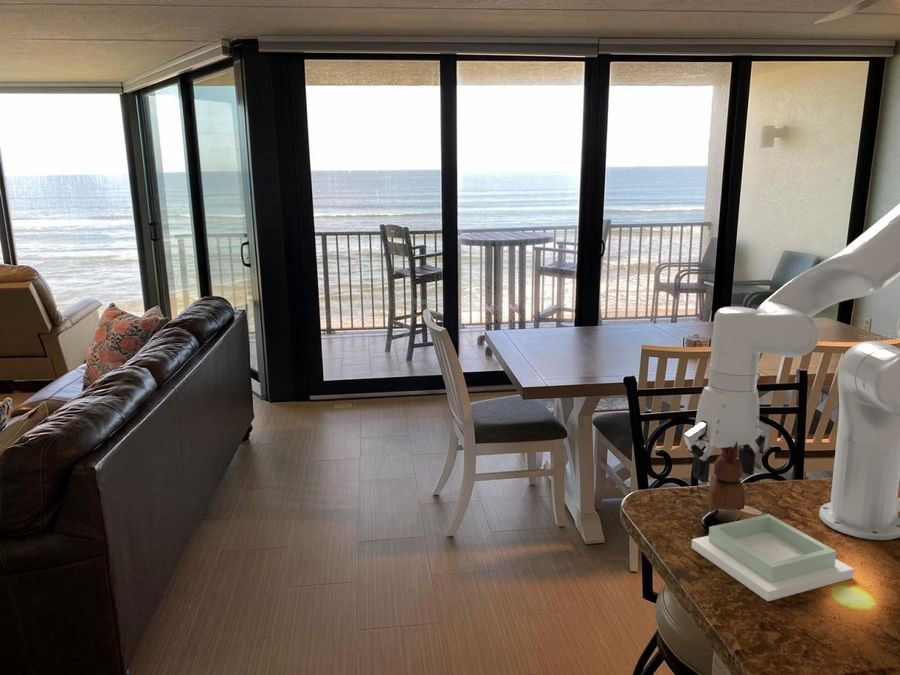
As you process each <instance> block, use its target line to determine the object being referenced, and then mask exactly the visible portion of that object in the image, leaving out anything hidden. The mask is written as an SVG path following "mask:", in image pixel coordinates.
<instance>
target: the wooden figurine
mask: <svg viewBox="0 0 900 675" xmlns="http://www.w3.org/2000/svg"><path fill="white" fill-rule="evenodd" d="M742 471H743V469H742V464H741V462H740V461H739V460H738V446H737V442H736V445H735V446H734V447H728V448H722V450H721V455H720V457H718V458H716V460H715V461H714V463H713V475H714V477H713V478H712V479H711V481H710V483H709V486H708V490H707V491H708V492H707V493H708V494H707V498H708V499H707V500H708V507H709V512H710V513H711V512H712V511H714V510H718V509H726V510H730V509H731V510H735V509H737V510H741V509H745V503H746V491H745V486H744V484H743V483H742V481H741V479H742V477H743V472H742Z"/></svg>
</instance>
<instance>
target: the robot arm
mask: <svg viewBox="0 0 900 675" xmlns="http://www.w3.org/2000/svg"><path fill="white" fill-rule="evenodd" d="M898 277H900V203H898V204H897V205H896V206H895V207H893V208H892V209H891V210H890V211H889V212H887V213H886V214H884V216H882V217H881V218H880V219H879V220H877V221H876V222H875V223H874V224H873V225H871V226H870V227H869V228H867V230H865V231H864V232H862V233H861V234H860V235H859V236H858V237H856V238H855V239H854V240H853V241H851V243H849V244H848V245H847V246H845V247H844V248H843V249H841V251H839V252H837V253H836V254H835V255H833V256H831V257H828V258H827V259H824V260H823V261H821V262H819V263H818V264H816V265H815V266H813V267H811V268H809V269H807V270H805V271H804V272H802V273H800V274H799V275H796V276H795V277H794V278H792V279H791V280H789V281H788V282H787V283H785V284H784V285H782V287H780V288H779V289H778V290H776V291H775V292H774V293H773V294H772V295H770V296H769V297H768V298H767V299H765V300H764V301H763V302H762V303H761V304H760V305H759V306H758V307H757V308H756V309H755V308H752V307H745V306H724V307H721V308H719V309H717V311H716V312H715V314H714V317H713V328H712V339H711V350H710V351H711V352H710V361H709V372H708V384H707V386H704V387H703V389H702V392H701V395H700V398H699V401H698V405H697V411H696V417H695V423H694V427H692V428H691V429H689V430H688V431H687V432H685V433H684V434H683V436H682V437H683V440H684V442H685V444H686V449H687V450H688V451H689V452H690V454H691V455H692V456H693V466H692V477H693V478H695V479H697V480H698V481H700V482H702V483H708V482H709V476H710V465H711V462H710V460H709V457H710V455H711V454H712V453H713V451H714V450H716V449H723V448H728V447H732V448H734V446H735V445H736V442H737V447H739V449H738V457H737V459H738V460H739V461H740V462H741V464H742V469H743V471H742V473H744V474H746V475H749V476H753V475H754V473H755V464H756V455H757V454H758V453H759V452H760V447H761V446H762V444H763V443H764V442H765V441H766V437H767V435H768V433H769V430H770V429H771V428H770V425H769V424H766V423H764V422H763V421H761V420H760V398H759V390H758V388H757V384H758V380H759V379H760V377H761V375H760V373H759V365H760V357H761V354H767V355H772V356H773V355H774V356H778V357H784V358H799V357H803V356H806V355H807V354H809V353H811V352H812V351H813V350H814V349H815V348H816V347H817V345H818V344H819V341H820V330H819V326H818V324H817V323H816V321H815V320H814V319H813V318H812V317H814V316H815V315H816V314H818V313H820V312H822V311H823V310H826V309H827V308H829V307H831V306H833V305H835V304H838V303H841V302H844V301H848V300H852V299H853V300H854V299H858V298H862V297H868V296H869V295H873V294H875V293H878V292H881V291H882V290H884V289H885V288H886V287H887V286H889V284H890V283H892V282H893V281H895V280H896V279H897V278H898ZM895 329H896V334H897V336H898V338H899V339H900V316H899V317H898V319H897V321H896V326H895ZM837 384H838V397H839V399H838V400H839V404H838V405H839V408H838V410H839V411H838V422H837V423H838V424H837V432H836V443H835V455H834V462H833V471H832V472H833V474H832V475H833V476H832V483H831V492H830V502H827V503H824V504H823V505H821V506H820V508H819V512H818V513H819V514H818V515H819V518H820V520H821V521H822V522H823V523H824V524H825V525H826V526H828V527H829V528H831V529H833V530H834V531H837V532H839V533H842V534H844V535H845V534H846V535H848V536H850V537H851V536H852V537H855V538H860V539H864V540H872V541H874V540H875V541H890V540H895V539H898V538H900V517H899V512H900V497H898V496H899V486H900V347H897V346H894V345H892V344H889V343H886V342H883V341H875V340H873V341H872V340H868V341H862V342H858V343H856V344H854V345H853V346H851V347H850V348H848V350H846V351H845V353H844V354H843V355H842V357H841V360H839V365H838V370H837ZM704 447H705V448H704ZM703 448H704V449H703ZM702 449H703V450H702Z"/></svg>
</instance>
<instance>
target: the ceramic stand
mask: <svg viewBox="0 0 900 675" xmlns="http://www.w3.org/2000/svg"><path fill="white" fill-rule="evenodd" d="M708 529H709V530H708V535H706V536H700V537H696V538H691V549H692V550H694V551H695V552H697V553H698V554H700V556H702V557H704V558H705V559H707V560H708V561H709V562H711V563H712V564H713V565H715V566H716V567H718V568H719V569H721V570H722V571H724V572H725V573H727V574H728V575H729V576H730V577H732V578H733V579H735V580H736V581H738V582H739V583H740V584H742V585H744V586H745V587H746V588H748V589H749V590H750V591H752V592H754V593H755V594H756V595H758V596H759V597H760V598H762V599H763V600H765V601H767V602H770V601H771V602H772V601H775V600H779V599H782V598H785V597H789V596H793V595H796V594H800V593H803V592H806V591H807V592H808V591H811V590H816V589H818V588H822V587H825V586H829V585H833V584H836V583H840V582H841V583H842V582H845V581H847V580H848V581H849V580H851V579H854V575H855V574H854V572H855V568H854V567H852V566H849V565H848V564H846V563H845V562H842V561H840V560H839V559H837V558H836V557H837V550H835V549H833V548H831V547H830V546H828V545H826V544H825V543H822V542H820V541H819V540H817V539H815V538H814V537H812V536H810V535H808V534H806V533H805V532H803V531H800V530H799V529H797V528H796V527H793V526H792V525H789V524H788V523H786V522H784V521H782V520H781V519H778V518H777V517H775V516H774V515H771V514H770V513H767V514H766V513H765V514H762V515H758V516H757V515H756V516H753V517H748V518H744V519H739V521H734V522H729V523H721V524H717V525H712V526H709V527H708Z"/></svg>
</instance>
